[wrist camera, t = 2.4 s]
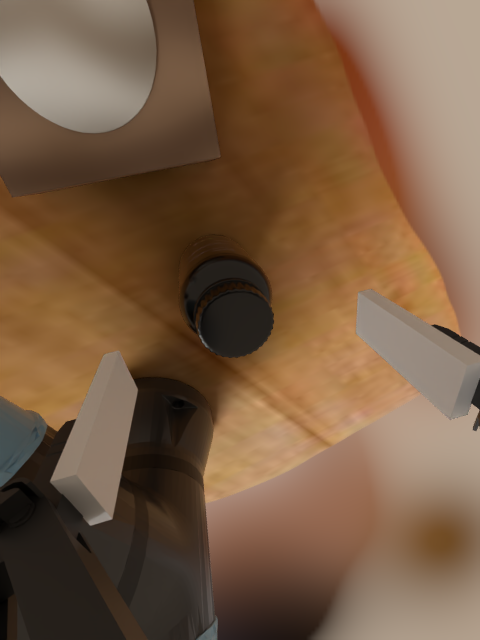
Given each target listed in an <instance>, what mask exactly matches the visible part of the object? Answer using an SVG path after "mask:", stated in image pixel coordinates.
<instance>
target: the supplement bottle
mask: <svg viewBox="0 0 480 640" xmlns="http://www.w3.org/2000/svg"><path fill="white" fill-rule="evenodd" d="M271 304H272V289H271V285H270V282H269V280H268V277H267V276H266V274H265V273H264V271H263V270H262V269H261V267H260V266H259V265H258V264H257V263H256V262H255V261H254V260H253V259H252V258H251V257H250V256H249V255H248V254H247V253H246V251H245V250H244V249H243V248H242V247H241V246H240V245H239V244H237V243H236V242H235V241H233V240H232V239H230V238H228V237H225V236H221V235H208V236H204V237H201V238H199V239H197V240H195V241H194V242H192V243H191V244H190V245H189V246H188V247H187V248H186V250H185V251H184V253H183V255H182V257H181V260H180V263H179V306H180V311H181V315H182V317H183V319H184V321H185V323H186V324H187V326H188V327H189V328H190V329H191V330H192V331H193V332H194V333H195V334H197V335H198V336H199V337H200V340H201V342H202V343H203V344H204V345H205V347H206V348H208V349H209V350H210V352H213V353H215V354H216V355H221V356H222V357H229V358H232V357H236V358H237V357H240V356H245V355H247V354H251V353H252V352H253V351H256V350H257V349H258V348H259V347H261V346H262V345H263V344H264V342H266V341H267V339H268V337H269V336H270V334H271V330H272V329H273V323H274V320H273V316H274V314H273V312H272V307H271Z"/></svg>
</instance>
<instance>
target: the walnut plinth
mask: <svg viewBox="0 0 480 640" xmlns="http://www.w3.org/2000/svg"><path fill="white" fill-rule="evenodd" d="M220 157H221V155H220V149H219V143H218V138H217V132H216V126H215V120H214V115H213V109H212V103H211V98H210V92H209V86H208V81H207V75H206V69H205V63H204V58H203V52H202V46H201V41H200V35H199V29H198V24H197V18H196V12H195V6H194V1H193V0H0V175H1V177H2V179H3V181H4V183H5V185H6V187H7V188H8V190H9V192H10V194H11V196H12V197H19V196H26V195H33V194H40V193H45V192H50V191H55V190H60V189H66V188H71V187H76V186H81V185H86V184H91V183H97V182H102V181H107V180H112V179H117V178H122V177H128V176H133V175H138V174H143V173H148V172H154V171H159V170H164V169H169V168H174V167H179V166H185V165H190V164H195V163H200V162H205V161H210V160H215V159H218V158H220Z"/></svg>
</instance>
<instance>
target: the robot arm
mask: <svg viewBox="0 0 480 640" xmlns="http://www.w3.org/2000/svg"><path fill="white" fill-rule="evenodd" d="M356 334H357V335H358V336H359V337H360V338H361V339H363V340H364V341H365V342H366V343H367V344H368V345H369V346H370V347H371V348H372V349H373V350H375V351H376V352H377V353H378V354H379V355H380V356H381V357H382V358H383V359H384V360H385V361H386V362H388V363H389V364H390V365H391V366H392V367H393V368H394V369H395V370H396V371H397V372H398V373H400V374H401V375H402V376H403V377H404V378H405V379H406V380H407V381H408V382H409V383H410V384H411V385H413V386H414V387H415V388H416V389H417V390H418V391H419V392H420V393H421V394H422V395H423V396H425V397H426V398H427V399H428V400H429V401H430V402H431V403H432V404H433V405H434V406H435V407H437V408H438V409H439V410H440V411H441V412H442V413H443V414H444V415H445V416H446V417H447V418H448V419H450V420H451V419H454V418H458V417H461V416H465V415H467V414H468V412H469V409H470V406H471V404H473V405H474V406H476V407H477V408H478V409H479V410H480V347H479V346H477V345H475V344H474V343H472V342H468V340H467V339H465V338H463V337H462V336H461V337H460V336H459V335H458V334H456V333H455V332H453V331H451V330H450V329H447V328H444V327H441V326H438V325H429V324H428V323H426V322H424V321H423V320H421V319H419V318H418V317H416V316H415V315H413V314H411V313H410V312H408V311H406V310H405V309H403V308H401V307H400V306H398V305H397V304H395V303H393V302H392V301H390V300H388V299H387V298H385V297H384V296H382V295H380V294H379V293H377V292H375V291H374V290H372V289H368V290H364V291H360V292H358V304H357V322H356ZM478 426H480V411H479V413H478V416H477V418H476V421H475V423H474V426H473V430H474V431H476V430H477V428H478ZM212 438H213V421H212V414H211V409H210V406H209V404H208V402H207V401H206V399H205V398H204V397H203V396H202V395H201V394H200V393H199V392H198V391H196V390H195V389H194V388H192V387H190V386H188V385H186V384H184V383H181V382H178V381H175V380H171V379H165V378H142V379H135V380H133V378H132V376H131V374H130V372H129V370H128V368H127V366H126V364H125V362H124V360H123V358H122V356H121V354H120V352H119V351H115V352H111V353H107V354H104V355H103V358H102V360H101V362H100V365H99V367H98V369H97V372H96V374H95V376H94V379H93V381H92V384H91V386H90V388H89V391H88V393H87V395H86V398H85V400H84V402H83V405H82V407H81V410H80V412H79V414H78V417H77V419H74V420H71V421H67V422H66V423H65V424H64V425H63V426H62V427H61V428H60V430H59V431H58V432H57V431H56V430H54V429H53V428H51V427H50V426H48V425H47V424H46V422H45V420H44V419H43V418H42V417H41V416H40V415H39V414H38V413H36V412H34V411H30V410H24V409H22V408H20V407H19V406H17V405H15V404H13V403H12V402H10V401H8V400H7V399H5V398H3V397H1V396H0V640H217V627H218V624H217V617H216V616H215V612H214V601H213V588H212V576H211V565H210V553H209V542H208V530H207V518H206V506H205V495H204V484H203V475H204V471H205V467H206V463H207V459H208V455H209V450H210V446H211V442H212Z"/></svg>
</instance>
